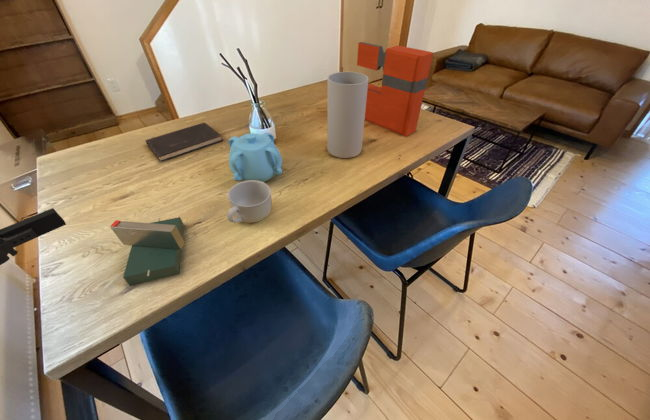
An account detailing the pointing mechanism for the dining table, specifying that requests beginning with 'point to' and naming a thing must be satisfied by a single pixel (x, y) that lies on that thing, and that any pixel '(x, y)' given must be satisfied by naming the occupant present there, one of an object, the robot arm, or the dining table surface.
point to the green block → (153, 259)
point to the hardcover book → (183, 141)
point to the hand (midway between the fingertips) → (59, 216)
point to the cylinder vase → (346, 113)
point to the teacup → (249, 201)
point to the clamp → (395, 85)
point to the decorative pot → (254, 157)
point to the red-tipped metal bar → (148, 234)
